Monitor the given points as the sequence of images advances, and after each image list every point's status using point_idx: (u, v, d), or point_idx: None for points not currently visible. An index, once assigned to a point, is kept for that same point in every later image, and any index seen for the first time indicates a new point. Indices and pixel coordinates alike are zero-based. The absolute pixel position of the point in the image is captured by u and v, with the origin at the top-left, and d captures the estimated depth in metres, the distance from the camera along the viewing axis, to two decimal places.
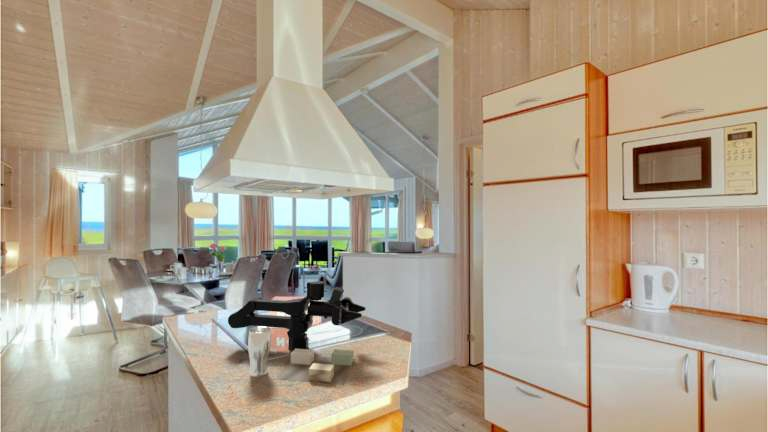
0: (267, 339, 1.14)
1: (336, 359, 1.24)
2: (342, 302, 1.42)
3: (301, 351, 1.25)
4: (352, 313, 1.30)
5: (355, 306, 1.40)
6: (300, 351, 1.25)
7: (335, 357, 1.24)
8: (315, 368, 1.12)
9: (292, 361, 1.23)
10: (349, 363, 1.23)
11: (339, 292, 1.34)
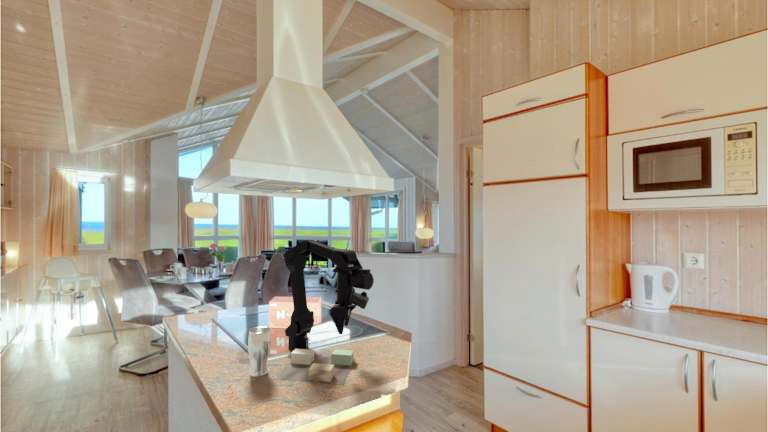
0: (267, 339, 1.14)
1: (336, 359, 1.24)
2: None
3: (301, 351, 1.25)
4: (342, 325, 1.20)
5: None
6: (300, 351, 1.25)
7: (335, 357, 1.24)
8: (315, 368, 1.12)
9: (292, 361, 1.23)
10: (349, 363, 1.23)
11: (363, 306, 1.23)
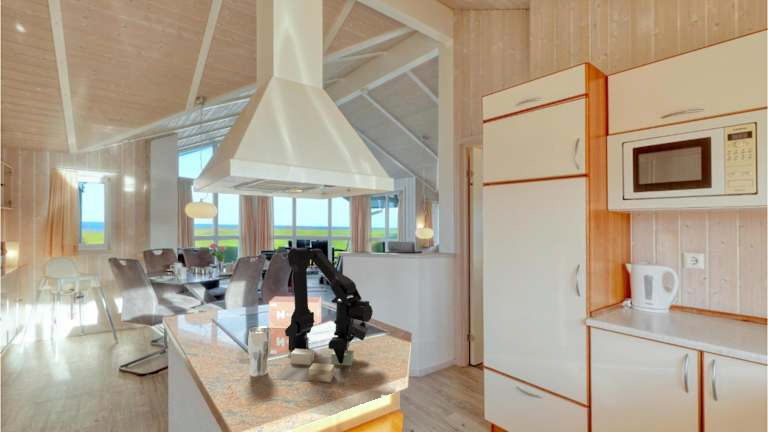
0: (267, 339, 1.14)
1: (336, 359, 1.24)
2: None
3: (301, 351, 1.25)
4: (342, 355, 1.22)
5: None
6: (300, 351, 1.25)
7: (335, 357, 1.24)
8: (315, 368, 1.12)
9: (292, 361, 1.23)
10: (349, 363, 1.23)
11: (362, 338, 1.23)
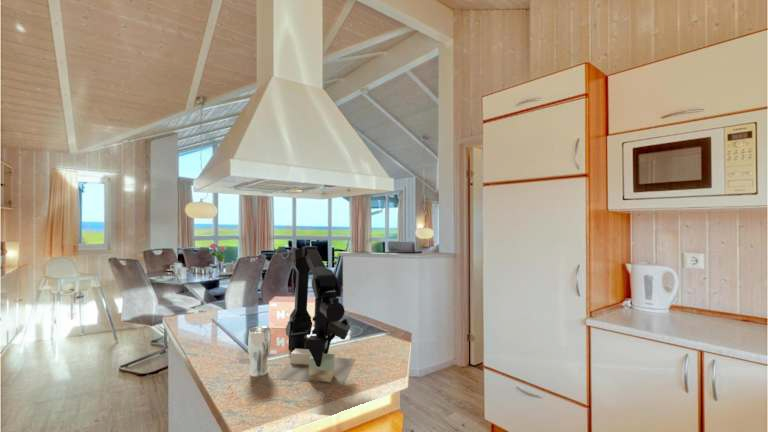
0: (267, 339, 1.14)
1: (314, 363, 1.11)
2: None
3: (301, 351, 1.25)
4: (320, 357, 1.09)
5: (327, 345, 1.17)
6: (300, 351, 1.25)
7: (314, 362, 1.11)
8: None
9: (292, 361, 1.23)
10: (329, 368, 1.11)
11: (343, 337, 1.10)
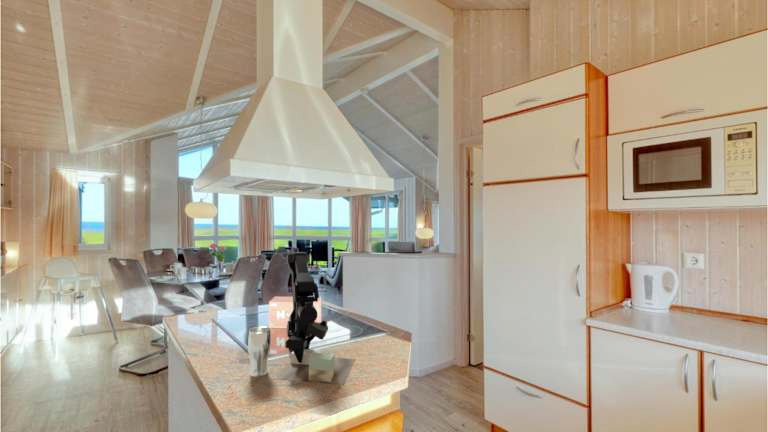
0: (267, 339, 1.14)
1: (314, 363, 1.11)
2: None
3: None
4: (301, 354, 1.22)
5: (306, 345, 1.28)
6: None
7: (314, 362, 1.11)
8: None
9: (292, 361, 1.23)
10: (329, 368, 1.11)
11: (321, 337, 1.22)
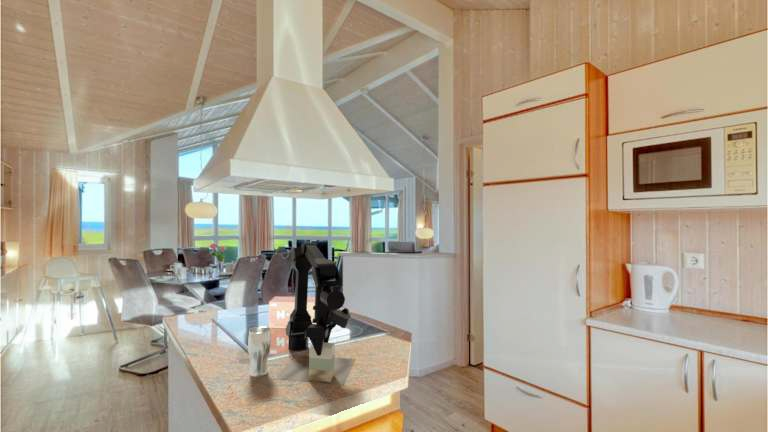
0: (267, 339, 1.14)
1: (314, 363, 1.11)
2: None
3: None
4: (320, 346, 1.08)
5: (327, 334, 1.17)
6: None
7: (314, 362, 1.11)
8: None
9: (311, 355, 1.11)
10: (329, 368, 1.11)
11: (344, 325, 1.10)
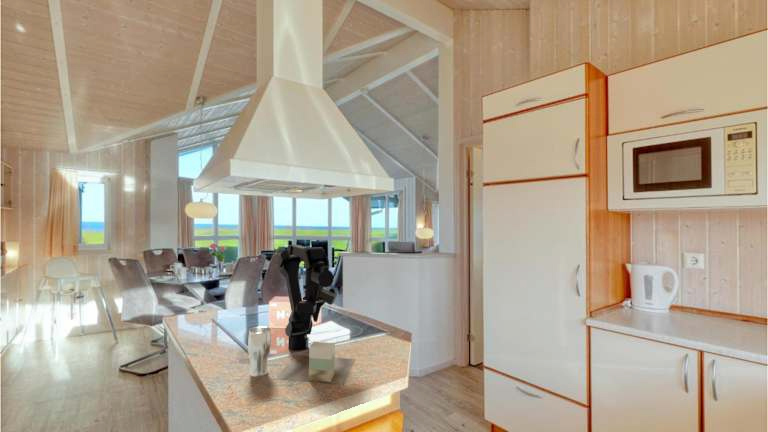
0: (267, 339, 1.14)
1: (314, 363, 1.11)
2: None
3: (321, 344, 1.13)
4: (308, 321, 1.22)
5: (317, 310, 1.33)
6: (319, 344, 1.13)
7: (314, 362, 1.11)
8: None
9: (311, 355, 1.11)
10: (329, 368, 1.11)
11: (330, 302, 1.25)
